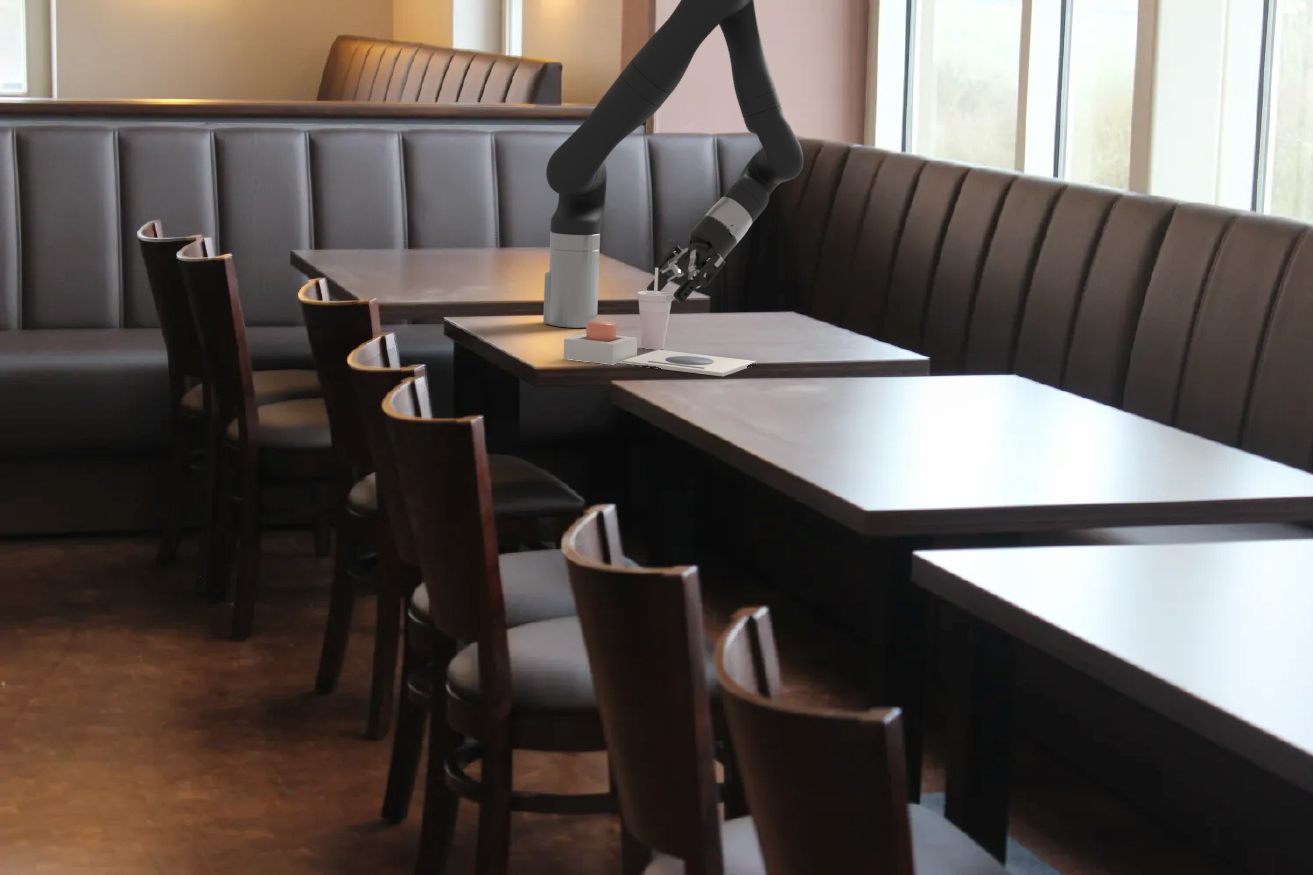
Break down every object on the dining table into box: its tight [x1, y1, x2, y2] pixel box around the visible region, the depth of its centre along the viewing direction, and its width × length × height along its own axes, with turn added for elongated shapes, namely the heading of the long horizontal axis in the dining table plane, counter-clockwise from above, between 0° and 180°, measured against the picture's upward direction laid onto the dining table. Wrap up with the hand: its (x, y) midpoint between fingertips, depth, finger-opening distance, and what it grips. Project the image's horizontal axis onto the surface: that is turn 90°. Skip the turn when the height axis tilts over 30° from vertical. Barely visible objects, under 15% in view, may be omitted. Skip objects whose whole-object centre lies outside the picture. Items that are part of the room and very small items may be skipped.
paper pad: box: [622, 349, 757, 377], centre depth 282 cm, size 18×14×1 cm
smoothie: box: [636, 267, 675, 351], centre depth 295 cm, size 6×6×14 cm
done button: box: [585, 320, 618, 342], centre depth 282 cm, size 5×5×4 cm
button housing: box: [563, 332, 638, 364], centre depth 283 cm, size 9×9×4 cm
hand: (663, 296), depth 295 cm, fingers open, 8 cm apart
